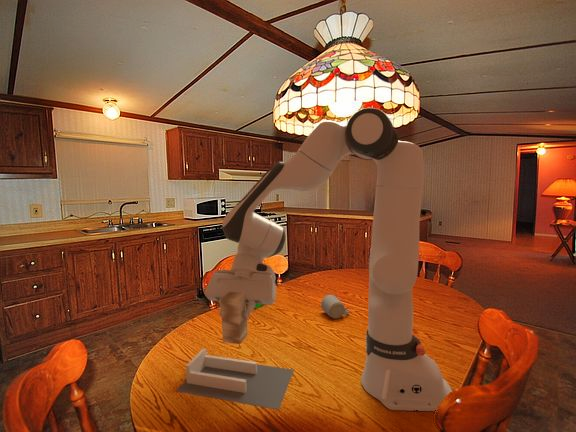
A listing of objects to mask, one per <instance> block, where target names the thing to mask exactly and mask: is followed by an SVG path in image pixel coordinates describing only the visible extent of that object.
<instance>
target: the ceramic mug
mask: <svg viewBox="0 0 576 432" xmlns="http://www.w3.org/2000/svg"><path fill="white" fill-rule="evenodd" d="M320 306H321V310H322V311H323V312H325V314H326V315H328V316H329V317H330V318H332V319H334V320H337V319H340V318H341V317H343V316H345V315H346V316H348V315H349V313H350V310H348V309H347V308H346V307H345V305H344V303H343V302H342V301H341V300H340V299H338V298H337V297H336V296H335V295H333V294H328V295H327V294H326V296H324V297H323V298H322V300H321V303H320Z"/></svg>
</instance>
